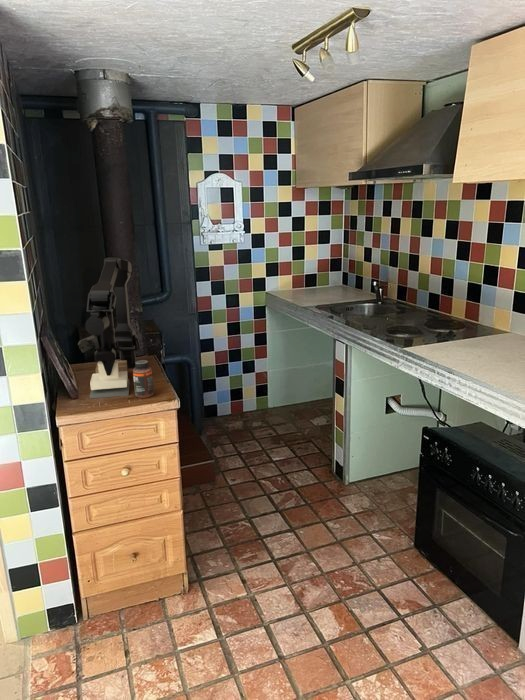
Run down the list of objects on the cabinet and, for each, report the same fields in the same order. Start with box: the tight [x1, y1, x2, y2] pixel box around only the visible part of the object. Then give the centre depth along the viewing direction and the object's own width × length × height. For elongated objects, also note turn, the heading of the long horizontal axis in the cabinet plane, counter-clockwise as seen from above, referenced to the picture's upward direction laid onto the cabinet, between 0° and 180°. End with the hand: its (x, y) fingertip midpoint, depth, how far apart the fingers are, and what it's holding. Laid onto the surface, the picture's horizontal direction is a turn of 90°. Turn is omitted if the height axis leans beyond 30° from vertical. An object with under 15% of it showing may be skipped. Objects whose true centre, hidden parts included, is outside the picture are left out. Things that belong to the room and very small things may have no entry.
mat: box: [89, 379, 131, 400], centre depth 179 cm, size 14×12×1 cm
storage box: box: [95, 360, 129, 375], centre depth 189 cm, size 8×10×5 cm
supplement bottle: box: [132, 359, 155, 399], centre depth 172 cm, size 6×6×11 cm
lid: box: [89, 359, 129, 391], centre depth 177 cm, size 9×11×8 cm
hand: (109, 373), depth 177 cm, fingers closed on lid, 3 cm apart
